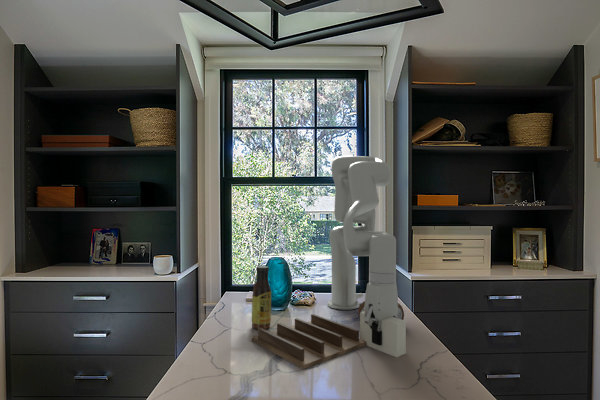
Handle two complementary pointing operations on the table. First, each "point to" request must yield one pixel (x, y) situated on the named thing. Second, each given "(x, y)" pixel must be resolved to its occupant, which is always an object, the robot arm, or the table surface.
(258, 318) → the sauce bottle
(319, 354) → the dish rack
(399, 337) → the white rectangular box
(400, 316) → the tin
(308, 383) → the table surface
